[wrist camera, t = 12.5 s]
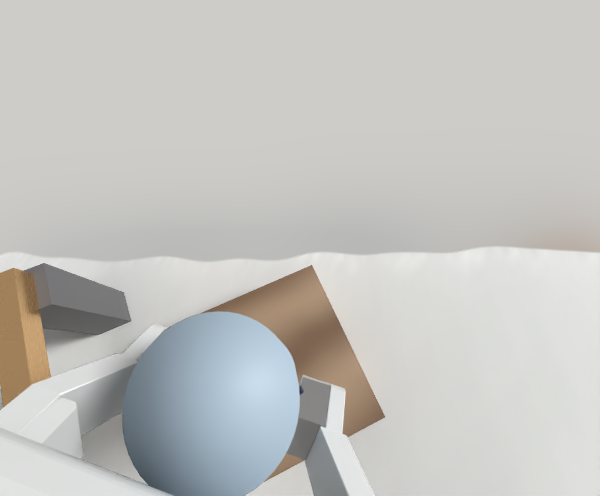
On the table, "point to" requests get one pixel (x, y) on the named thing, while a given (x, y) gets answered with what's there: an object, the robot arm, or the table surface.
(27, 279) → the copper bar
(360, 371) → the walnut stand
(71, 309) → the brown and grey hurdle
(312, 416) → the robot arm
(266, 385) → the peg
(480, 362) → the table surface
